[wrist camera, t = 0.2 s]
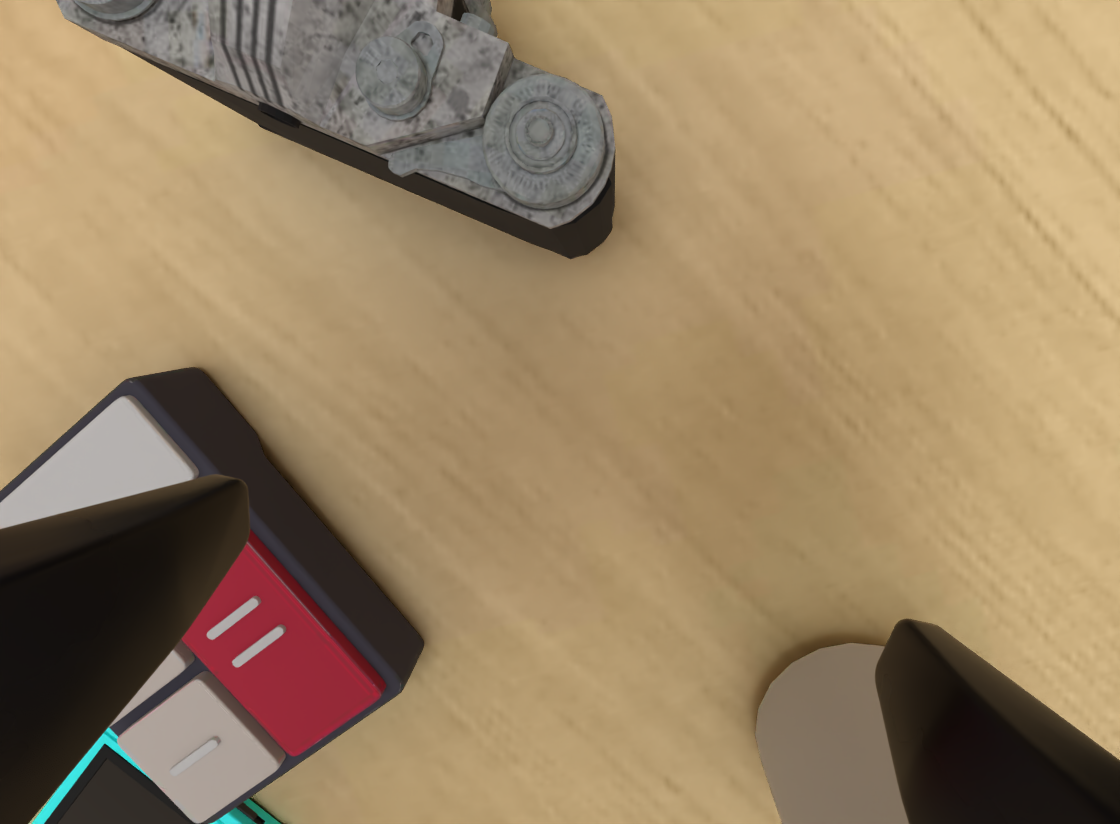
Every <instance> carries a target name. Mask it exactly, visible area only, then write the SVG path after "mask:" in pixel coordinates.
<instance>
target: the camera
mask: <svg viewBox="0 0 1120 824" xmlns="http://www.w3.org/2000/svg"><path fill="white" fill-rule="evenodd" d="M56 1H57V3H58V5H59V8H60V10H61V12H62V14H63V16H64V18H65V19H67V20H69V21H71V22H72V23H74V24H76V25H78V26H80V27H81V28H83V29H85V30H87V31H89V32H90V33H92V34H94V35H96V36H98V37H99V38H101V39H103V40H105V41H108V42H110V43H112V44H115V45H117V46H120V47H122V48H124V49H125V50H127V51H129V52H131V53H132V54H134V55H136V56H138V57H140V58H141V59H143V60H145V61H147V62H148V63H150V64H152V65H154V66H156V67H157V68H159V69H161V70H163V71H165V72H166V73H168V74H170V75H172V76H173V77H175V78H177V79H179V80H181V81H182V82H184V83H186V84H188V85H190V86H191V87H193V88H195V89H197V90H198V91H200V92H202V93H204V94H206V95H207V96H209V97H211V98H213V99H215V100H216V101H218V102H220V103H222V104H223V105H225V106H227V107H229V108H231V109H232V110H234V111H236V112H238V113H239V114H241V115H243V116H245V117H247V118H248V119H250V120H252V121H254V122H256V123H257V124H258V125H259V126H260V127H261V128H263V129H265V130H268V131H270V132H272V133H275V134H277V135H279V136H282V137H284V138H287V139H289V140H291V141H294V142H296V143H298V144H301V145H303V146H305V147H308V148H310V149H312V150H315V151H317V152H319V153H321V154H324V155H326V156H328V157H331V158H333V159H335V160H338V161H340V162H342V163H345V164H347V165H349V166H352V167H354V168H356V169H359V170H361V171H363V172H366V173H368V174H370V175H373V176H375V177H377V178H380V179H382V180H384V181H387V182H389V183H391V184H394V185H396V186H398V187H401V188H403V189H405V190H408V191H410V192H412V193H415V194H417V195H419V196H422V197H424V198H426V199H429V200H431V201H433V202H436V203H438V204H440V205H443V206H445V207H447V208H450V209H452V210H454V211H457V212H459V213H461V214H464V215H466V216H468V217H471V218H473V219H475V220H478V221H480V222H482V223H484V224H487V225H489V226H491V227H494V228H496V229H498V230H501V231H503V232H505V233H508V234H510V235H512V236H515V237H517V238H519V239H522V240H524V241H526V242H529V243H531V244H534V245H537V246H540V247H542V248H545V249H548V250H551V251H553V252H556V253H558V254H560V255H562V256H565V257H567V258H569V259H573V258H575V257H578V256H582V255H587V254H588V253H590V252H591V251H592V250H594V249H595V248H596V247H597V246H599V245H600V244H601V243H603V242H604V241H605V239H606V238H607V236H608V235H609V234H610V232H611V230H612V217H613V212H614V207H615V141H614V132H613V123H612V116H611V114H610V111H609V109H608V107H607V105H606V103H605V100H604V98H603V96H602V95H600V94H597V93H595V92H593V91H590V90H588V89H585V88H583V87H581V86H579V85H578V84H576V83H574V82H572V81H571V80H569V79H567V78H564V77H561V76H557V75H553V74H550V73H548V72H546V71H543V70H541V69H539V68H536V67H534V66H532V65H529V64H527V63H524V62H522V61H520V60H517V59H515V58H514V56H513V53H512V51H511V48H510V45H509V43H508V42H505V41H503V40H501V39H499V38H497V35H498V33H497V29H496V25H495V24H494V22H493V20H492V18H491V16H490V15H491V11H492V7H491V3H490V0H56Z"/></svg>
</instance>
